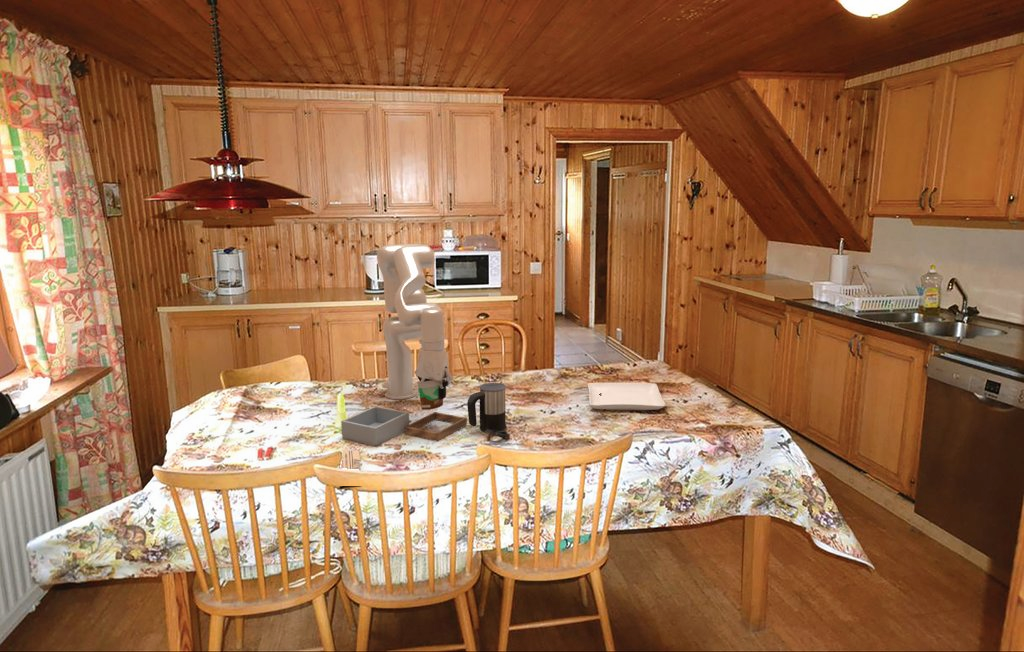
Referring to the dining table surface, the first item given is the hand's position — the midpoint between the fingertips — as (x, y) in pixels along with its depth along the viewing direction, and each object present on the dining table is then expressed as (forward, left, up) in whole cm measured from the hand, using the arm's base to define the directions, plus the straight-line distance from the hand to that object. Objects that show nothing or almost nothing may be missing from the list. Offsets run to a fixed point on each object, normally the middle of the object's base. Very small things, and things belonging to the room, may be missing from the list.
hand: (434, 396), depth 211 cm
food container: (+1, 0, -3) cm, 3 cm away
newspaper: (-2, -37, -12) cm, 40 cm away
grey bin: (-15, -13, -11) cm, 23 cm away
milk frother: (+20, +7, -12) cm, 24 cm away
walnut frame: (+1, 0, -11) cm, 12 cm away
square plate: (+47, +57, -12) cm, 74 cm away
